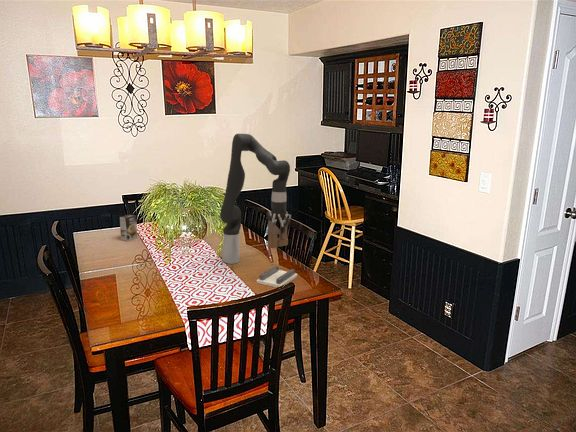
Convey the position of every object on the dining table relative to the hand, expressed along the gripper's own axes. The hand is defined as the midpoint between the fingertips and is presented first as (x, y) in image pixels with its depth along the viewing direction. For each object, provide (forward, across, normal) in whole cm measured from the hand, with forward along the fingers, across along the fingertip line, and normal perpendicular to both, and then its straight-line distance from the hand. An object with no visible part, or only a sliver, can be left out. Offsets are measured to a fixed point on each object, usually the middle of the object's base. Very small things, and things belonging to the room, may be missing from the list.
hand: (278, 232), depth 226 cm
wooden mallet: (+8, 0, 0) cm, 8 cm away
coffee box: (+26, +121, -12) cm, 124 cm away
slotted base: (+26, 0, 0) cm, 26 cm away
